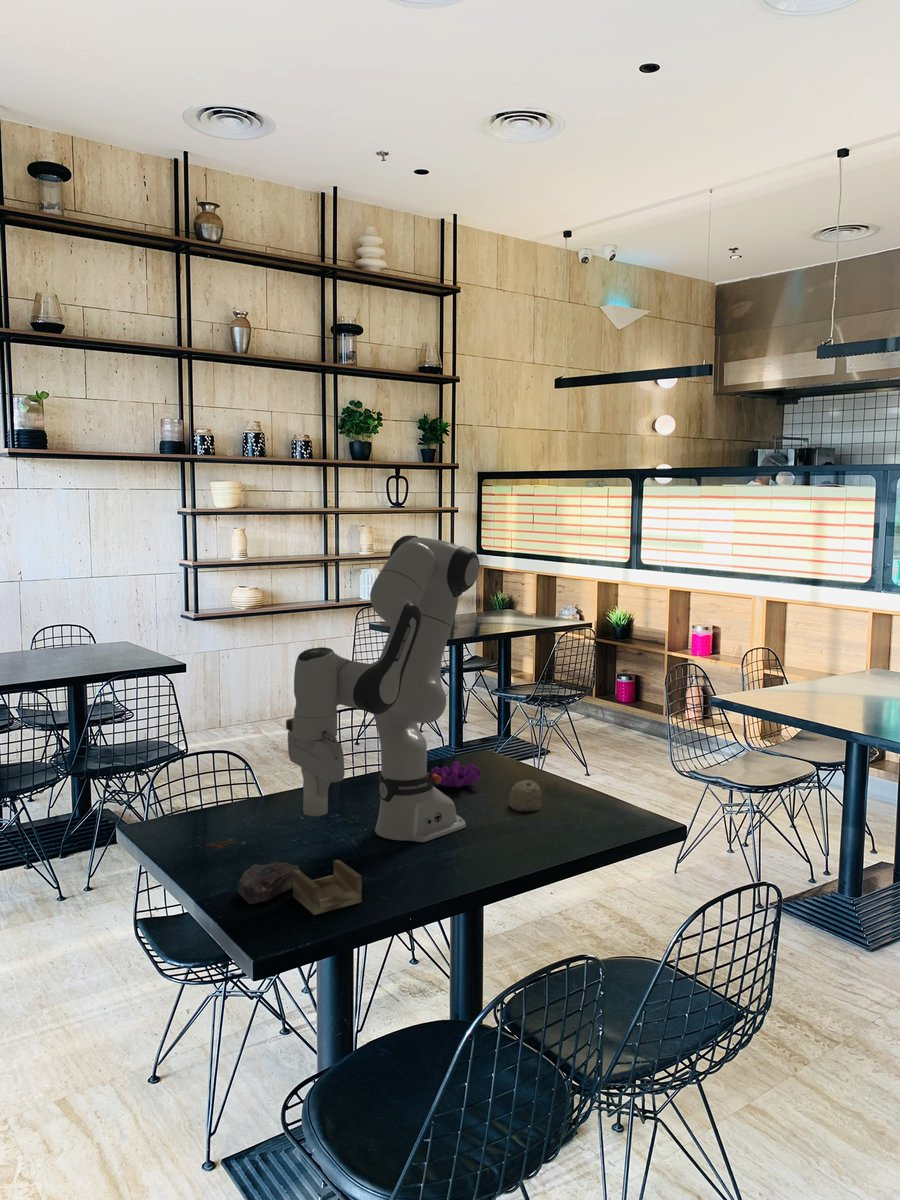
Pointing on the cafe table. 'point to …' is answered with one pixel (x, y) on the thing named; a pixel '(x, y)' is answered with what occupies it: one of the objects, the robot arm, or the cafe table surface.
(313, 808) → the roll
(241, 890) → the rock
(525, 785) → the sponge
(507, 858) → the cafe table surface
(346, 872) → the holder
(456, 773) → the purple coral
